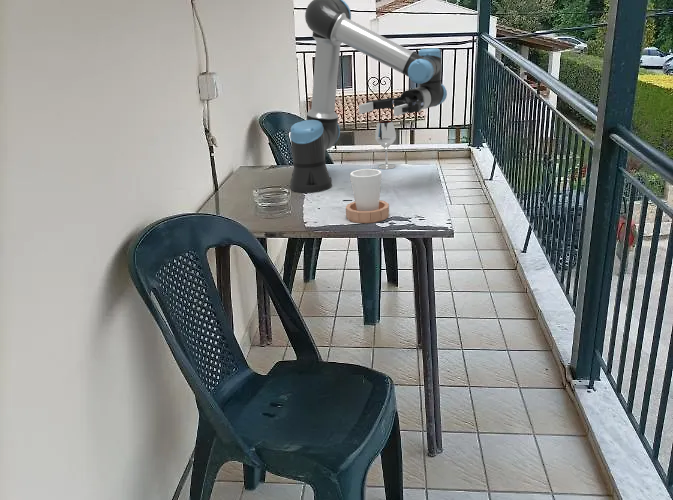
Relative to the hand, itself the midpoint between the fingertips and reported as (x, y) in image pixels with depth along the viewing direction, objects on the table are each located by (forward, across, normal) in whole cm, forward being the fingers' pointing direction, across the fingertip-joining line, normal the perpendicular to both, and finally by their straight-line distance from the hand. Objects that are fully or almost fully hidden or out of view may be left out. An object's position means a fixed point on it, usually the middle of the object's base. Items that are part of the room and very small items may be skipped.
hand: (376, 110), depth 199 cm
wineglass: (-39, +26, -30) cm, 56 cm away
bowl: (+14, -5, -30) cm, 33 cm away
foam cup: (+14, -5, -29) cm, 33 cm away
